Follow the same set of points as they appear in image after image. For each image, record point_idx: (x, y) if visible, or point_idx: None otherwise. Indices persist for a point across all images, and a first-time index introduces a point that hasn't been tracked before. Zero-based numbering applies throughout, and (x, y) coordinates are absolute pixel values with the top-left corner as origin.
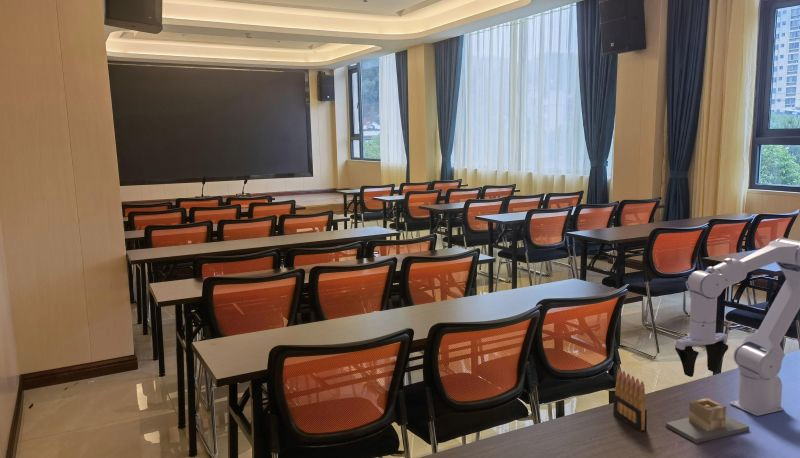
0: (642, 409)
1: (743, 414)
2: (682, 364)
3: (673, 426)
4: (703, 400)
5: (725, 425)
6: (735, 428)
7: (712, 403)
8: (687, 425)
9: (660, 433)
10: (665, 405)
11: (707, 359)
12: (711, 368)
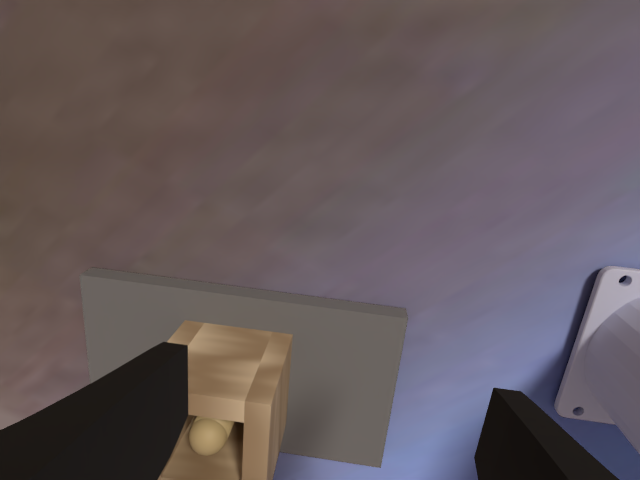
0: None
1: (525, 364)
2: (74, 399)
3: (85, 315)
4: (221, 413)
5: (300, 417)
6: (312, 449)
7: (245, 449)
8: (149, 339)
9: (30, 295)
10: (272, 91)
11: (554, 470)
12: (494, 447)
